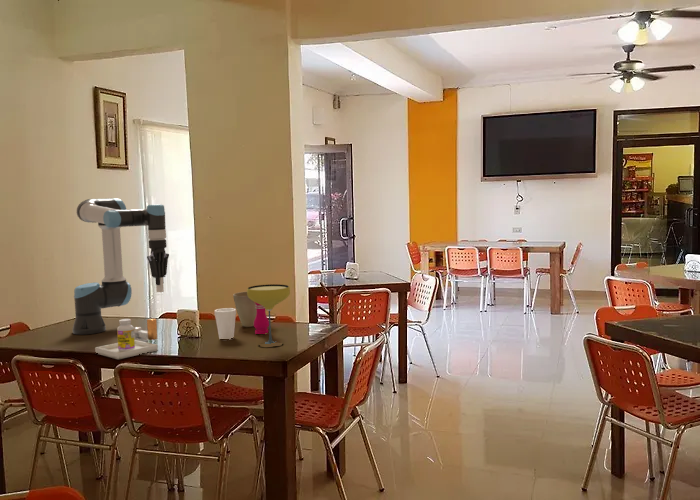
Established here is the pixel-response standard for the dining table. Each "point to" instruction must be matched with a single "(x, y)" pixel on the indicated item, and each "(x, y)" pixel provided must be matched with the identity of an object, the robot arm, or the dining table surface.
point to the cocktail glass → (268, 298)
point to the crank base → (140, 339)
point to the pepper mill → (261, 320)
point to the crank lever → (151, 330)
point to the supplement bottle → (125, 335)
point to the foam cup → (225, 322)
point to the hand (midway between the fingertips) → (160, 291)
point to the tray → (115, 353)
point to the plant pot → (245, 309)
